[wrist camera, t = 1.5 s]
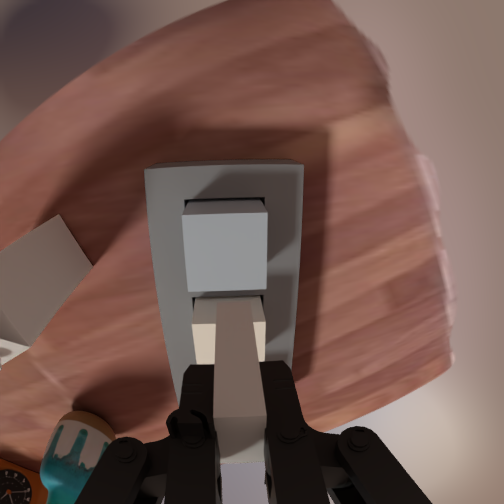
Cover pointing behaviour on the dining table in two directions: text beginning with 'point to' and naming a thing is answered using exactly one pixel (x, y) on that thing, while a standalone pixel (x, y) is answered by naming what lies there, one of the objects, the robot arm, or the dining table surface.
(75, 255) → the milk carton
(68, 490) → the vase
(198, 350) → the key ivory
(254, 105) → the dining table surface
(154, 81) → the dining table surface
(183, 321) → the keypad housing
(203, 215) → the key slate
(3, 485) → the alarm clock
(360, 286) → the dining table surface
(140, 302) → the dining table surface
